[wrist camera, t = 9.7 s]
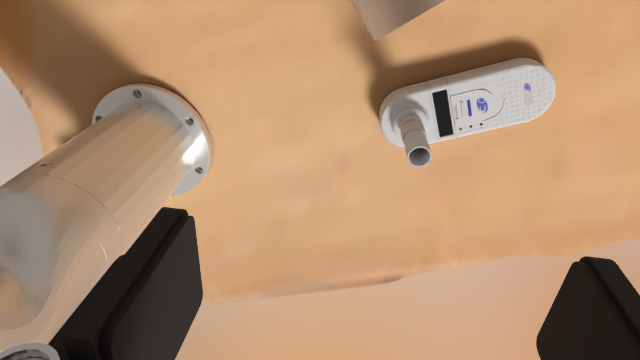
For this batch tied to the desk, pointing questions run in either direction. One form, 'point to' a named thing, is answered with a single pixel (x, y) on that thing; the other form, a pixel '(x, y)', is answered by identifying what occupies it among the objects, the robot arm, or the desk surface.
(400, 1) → the board
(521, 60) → the electronic device
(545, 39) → the desk surface
